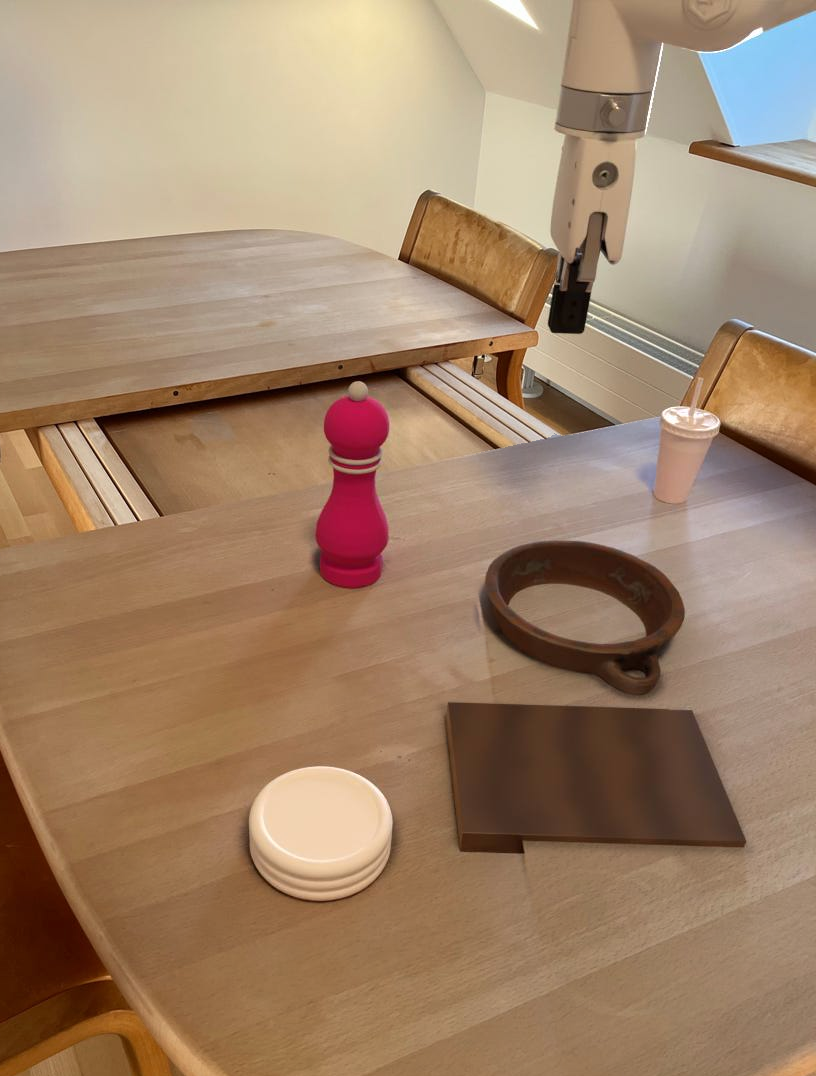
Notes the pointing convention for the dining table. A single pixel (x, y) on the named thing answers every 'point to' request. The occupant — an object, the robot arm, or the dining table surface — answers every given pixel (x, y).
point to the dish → (600, 572)
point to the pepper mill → (353, 491)
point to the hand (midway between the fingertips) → (565, 330)
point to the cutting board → (584, 777)
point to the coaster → (320, 833)
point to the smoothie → (683, 448)
